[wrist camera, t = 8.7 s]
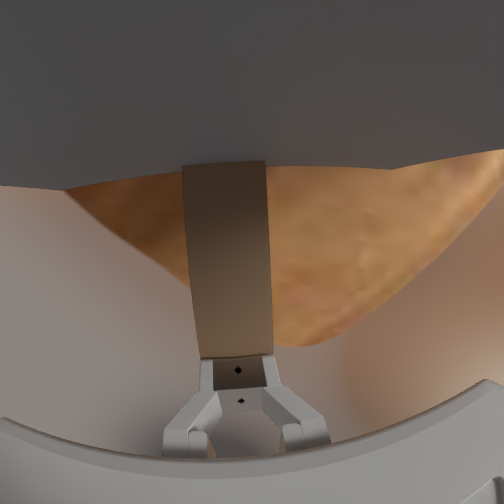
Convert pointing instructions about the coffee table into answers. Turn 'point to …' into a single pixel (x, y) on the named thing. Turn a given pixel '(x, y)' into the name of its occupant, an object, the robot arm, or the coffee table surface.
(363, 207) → the coffee table surface
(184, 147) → the lid flap
